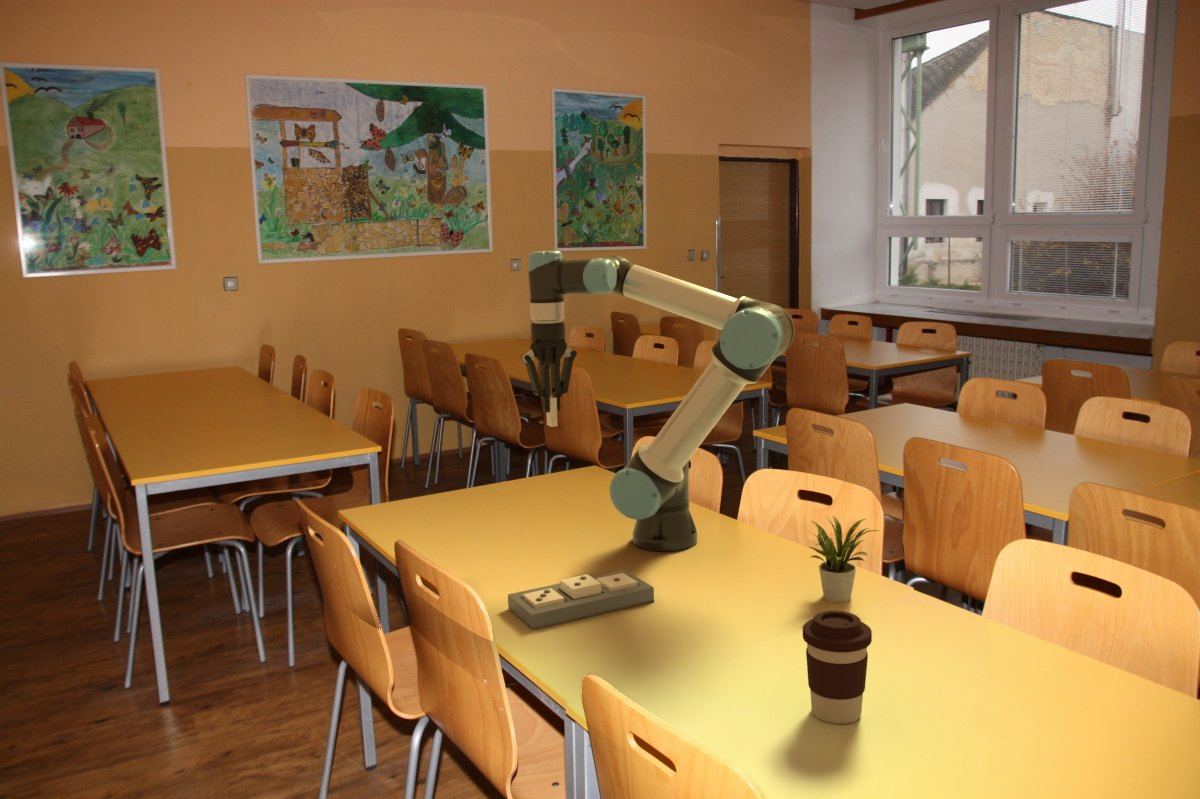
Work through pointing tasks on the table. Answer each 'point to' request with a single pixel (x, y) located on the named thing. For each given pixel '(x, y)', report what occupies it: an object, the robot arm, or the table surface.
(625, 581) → the key one
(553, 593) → the key three
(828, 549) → the house plant
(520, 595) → the keypad
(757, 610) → the table surface
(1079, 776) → the table surface
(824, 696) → the coffee cup
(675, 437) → the robot arm
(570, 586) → the key two
